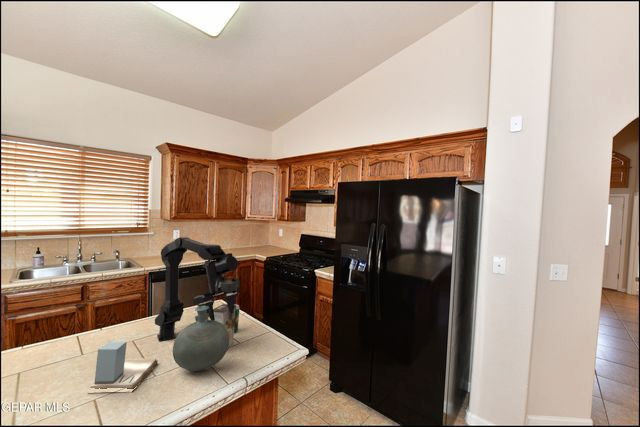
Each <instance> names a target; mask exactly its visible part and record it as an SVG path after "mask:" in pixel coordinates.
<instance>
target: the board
mask: <svg viewBox="0 0 640 427" xmlns="http://www.w3.org/2000/svg"><path fill="white" fill-rule="evenodd" d="M158 363H159V362H158V359H157V358H125V364H124V373H123V375H122V376H121V377H120V378H119V379H118V380H117V381H116V382H115V383H113V384H94V382H93V383H92V384H91V385H90V387H89V388H95V389H99V388H100V389H107V388H127V389H134V388H135V387H136V386H137V385H138V386H139V385H140V384H141V383H142V382H143V381H144V380H145V379H146V377H147V376H148V375H149V374H150V373H151V372H152V371H153V369H154V368H156V366H157V365H158ZM143 379H144V380H143ZM142 380H143V381H142ZM141 381H142V382H141ZM140 382H141V383H140ZM139 383H140V384H139ZM138 386H137V387H138Z"/></svg>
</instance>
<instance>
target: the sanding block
mask: <svg viewBox="0 0 640 427" xmlns="http://www.w3.org/2000/svg"><path fill="white" fill-rule="evenodd" d="M127 343H128V342H127V341H108V342H107V343H105V344H104V345H102V346H101V347H99V348H98V349H97V356H96V363H95V364H96V366H95V375H94V382H93V383H94V384H113V383H115V382H116V381H117V380H118V379H119V378H120V377H121V376H122V375H123V373H124V364H125V359H126V354H127V353H126V351H127Z"/></svg>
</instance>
